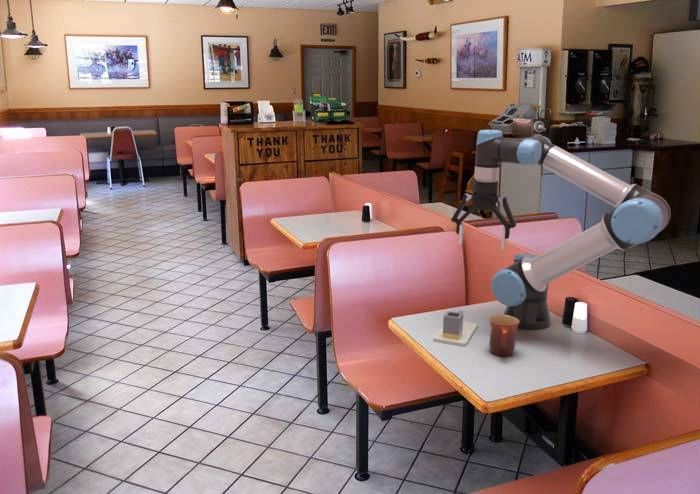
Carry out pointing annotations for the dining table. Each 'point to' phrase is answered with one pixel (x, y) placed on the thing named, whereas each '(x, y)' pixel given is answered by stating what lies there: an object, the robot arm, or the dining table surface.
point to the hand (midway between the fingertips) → (481, 246)
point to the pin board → (465, 337)
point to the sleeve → (452, 325)
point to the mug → (503, 334)
